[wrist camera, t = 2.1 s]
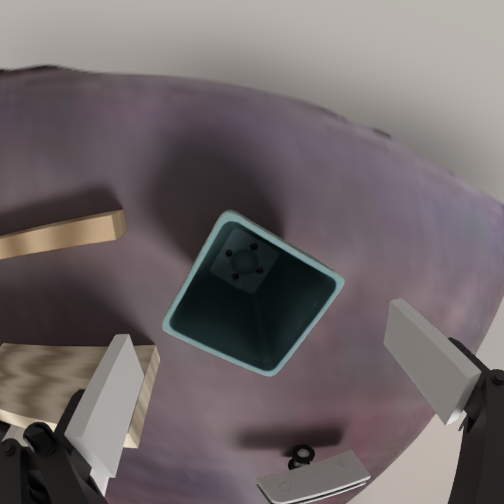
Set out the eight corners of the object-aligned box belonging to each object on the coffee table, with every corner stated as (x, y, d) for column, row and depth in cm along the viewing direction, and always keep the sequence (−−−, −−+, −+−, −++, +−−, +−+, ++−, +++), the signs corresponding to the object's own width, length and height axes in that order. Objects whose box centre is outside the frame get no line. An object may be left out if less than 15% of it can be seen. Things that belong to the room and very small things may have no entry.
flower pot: (177, 277, 26) (157, 330, 17) (225, 192, 24) (224, 207, 15) (258, 319, 28) (273, 379, 19) (309, 242, 26) (348, 280, 17)
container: (140, 432, 32) (118, 540, 15) (89, 450, 33) (65, 532, 16) (60, 365, 28) (-1, 470, 11) (23, 395, 29) (-23, 473, 12)
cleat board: (9, 355, 27) (-33, 407, 15) (-30, 244, 22) (-93, 277, 11) (160, 359, 28) (137, 448, 17) (123, 209, 23) (51, 245, 12)
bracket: (340, 431, 37) (248, 456, 33) (372, 474, 28) (272, 511, 24) (334, 445, 38) (247, 469, 34) (363, 486, 29) (268, 520, 25)
